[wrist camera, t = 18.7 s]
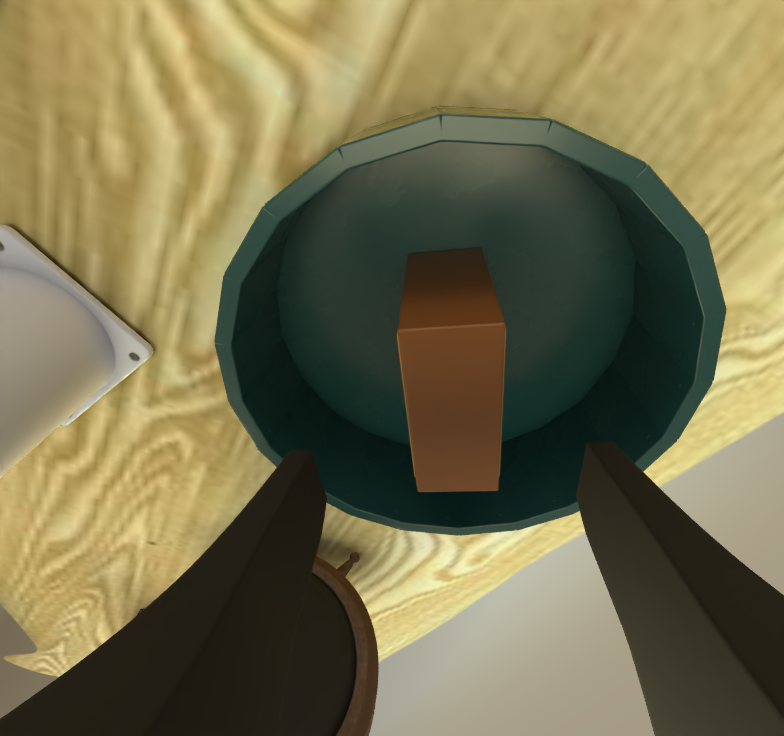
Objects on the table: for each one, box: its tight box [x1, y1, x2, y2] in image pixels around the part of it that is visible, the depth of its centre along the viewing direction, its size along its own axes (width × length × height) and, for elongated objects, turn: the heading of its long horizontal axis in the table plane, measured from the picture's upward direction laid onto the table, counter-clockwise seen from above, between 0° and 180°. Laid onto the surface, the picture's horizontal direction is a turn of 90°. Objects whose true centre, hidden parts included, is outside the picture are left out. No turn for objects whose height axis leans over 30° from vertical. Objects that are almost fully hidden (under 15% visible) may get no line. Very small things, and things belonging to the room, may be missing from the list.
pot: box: [215, 106, 726, 535], centre depth 17 cm, size 17×17×5 cm
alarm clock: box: [277, 552, 378, 736], centre depth 23 cm, size 14×7×20 cm, turn 80°
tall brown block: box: [397, 248, 506, 492], centre depth 16 cm, size 3×7×6 cm, turn 7°
